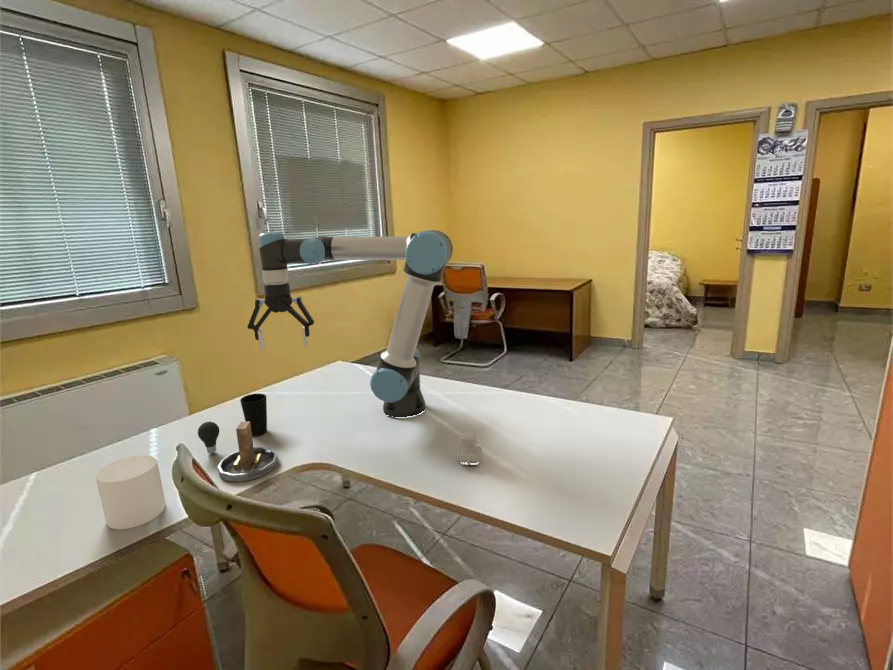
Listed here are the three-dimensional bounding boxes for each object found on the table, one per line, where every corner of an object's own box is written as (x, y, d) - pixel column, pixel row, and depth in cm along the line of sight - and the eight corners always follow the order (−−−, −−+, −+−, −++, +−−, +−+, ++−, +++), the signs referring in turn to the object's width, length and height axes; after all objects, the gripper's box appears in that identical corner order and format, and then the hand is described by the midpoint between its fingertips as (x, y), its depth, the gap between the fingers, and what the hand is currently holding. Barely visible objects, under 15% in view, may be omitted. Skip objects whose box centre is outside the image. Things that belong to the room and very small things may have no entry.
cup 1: (140, 495, 114) (131, 452, 111) (177, 502, 111) (169, 458, 108) (93, 525, 103) (82, 478, 100) (132, 534, 100) (122, 486, 97)
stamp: (481, 471, 122) (481, 443, 120) (456, 470, 123) (456, 442, 121) (481, 454, 131) (482, 428, 129) (459, 454, 131) (458, 427, 129)
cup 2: (261, 438, 143) (256, 403, 140) (239, 437, 144) (234, 401, 141) (275, 428, 150) (271, 394, 147) (254, 426, 151) (250, 392, 148)
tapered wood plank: (255, 460, 128) (250, 421, 125) (251, 468, 124) (245, 428, 121) (246, 460, 128) (240, 421, 125) (241, 469, 124) (235, 429, 121)
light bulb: (227, 450, 136) (222, 419, 133) (212, 459, 131) (206, 427, 128) (212, 447, 138) (207, 417, 135) (197, 456, 132) (191, 425, 130)
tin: (282, 451, 134) (281, 443, 134) (270, 479, 120) (269, 470, 119) (229, 456, 132) (227, 448, 132) (210, 485, 118) (209, 476, 117)
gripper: (318, 279, 148) (324, 342, 154) (237, 283, 144) (246, 347, 149) (316, 282, 141) (322, 348, 146) (231, 286, 137) (240, 353, 142)
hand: (284, 347), depth 148 cm, fingers open, 13 cm apart
